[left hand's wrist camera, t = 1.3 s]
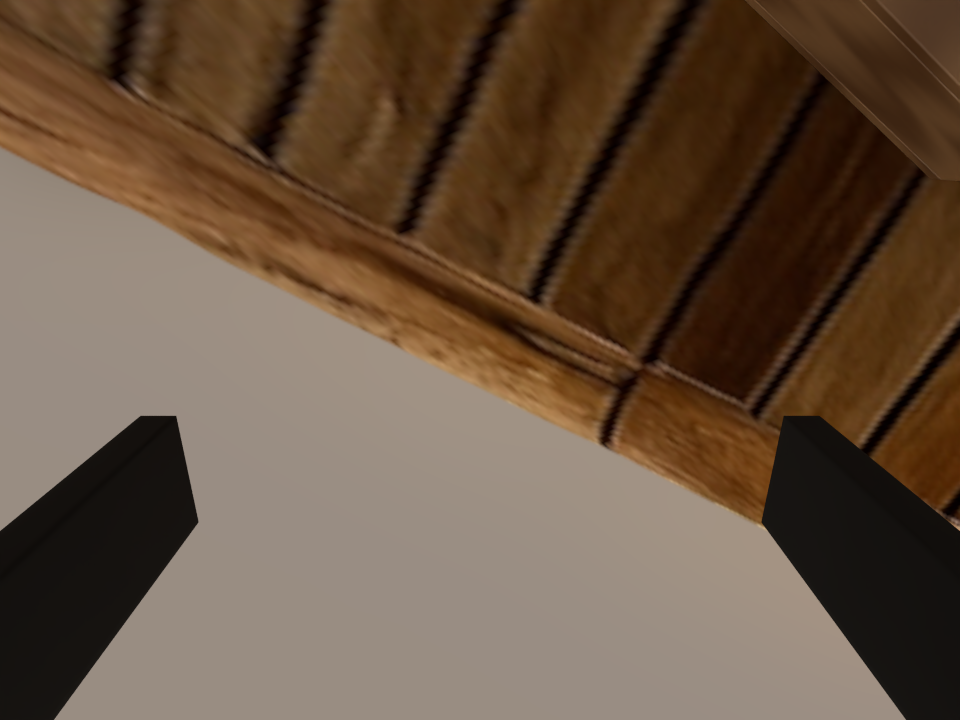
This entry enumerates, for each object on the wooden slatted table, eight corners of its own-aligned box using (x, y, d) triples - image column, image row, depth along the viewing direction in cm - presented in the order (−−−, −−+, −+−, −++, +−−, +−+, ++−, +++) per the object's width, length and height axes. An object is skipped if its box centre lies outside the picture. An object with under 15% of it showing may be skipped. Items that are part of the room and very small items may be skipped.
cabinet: (1030, 75, 31) (1201, 55, 24) (930, 179, 33) (1061, 190, 26) (820, -150, 28) (946, -257, 20) (722, -20, 29) (804, -74, 22)
